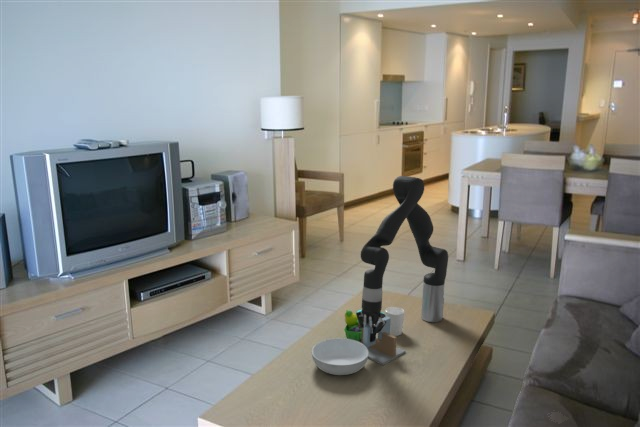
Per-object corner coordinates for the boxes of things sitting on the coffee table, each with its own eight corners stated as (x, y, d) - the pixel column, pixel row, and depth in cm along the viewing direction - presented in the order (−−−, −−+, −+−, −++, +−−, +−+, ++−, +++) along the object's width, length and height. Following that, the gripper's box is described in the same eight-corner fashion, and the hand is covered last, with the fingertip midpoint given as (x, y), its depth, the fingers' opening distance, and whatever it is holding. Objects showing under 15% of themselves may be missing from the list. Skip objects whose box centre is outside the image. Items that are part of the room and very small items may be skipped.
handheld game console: (370, 308, 247) (370, 306, 247) (394, 320, 235) (394, 317, 234) (354, 313, 241) (354, 311, 241) (378, 326, 229) (378, 323, 228)
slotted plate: (385, 335, 209) (386, 316, 207) (389, 336, 207) (390, 318, 206) (362, 345, 199) (363, 326, 197) (366, 347, 198) (367, 328, 196)
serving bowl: (338, 348, 207) (338, 332, 206) (379, 368, 193) (380, 351, 191) (299, 366, 193) (299, 349, 191) (340, 389, 179) (341, 371, 177)
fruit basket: (361, 344, 211) (362, 318, 209) (340, 340, 214) (341, 315, 211) (368, 332, 222) (369, 307, 219) (347, 329, 224) (348, 304, 222)
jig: (373, 338, 216) (374, 319, 214) (405, 352, 205) (406, 331, 203) (350, 350, 206) (351, 329, 204) (382, 365, 195) (383, 343, 193)
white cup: (402, 328, 225) (403, 307, 223) (403, 337, 218) (404, 314, 215) (384, 327, 226) (385, 306, 224) (384, 336, 218) (385, 313, 216)
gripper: (392, 300, 194) (389, 343, 198) (364, 290, 204) (362, 331, 207) (380, 305, 189) (377, 349, 192) (351, 294, 198) (349, 337, 202)
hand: (369, 340), depth 200 cm, fingers closed on slotted plate, 2 cm apart
